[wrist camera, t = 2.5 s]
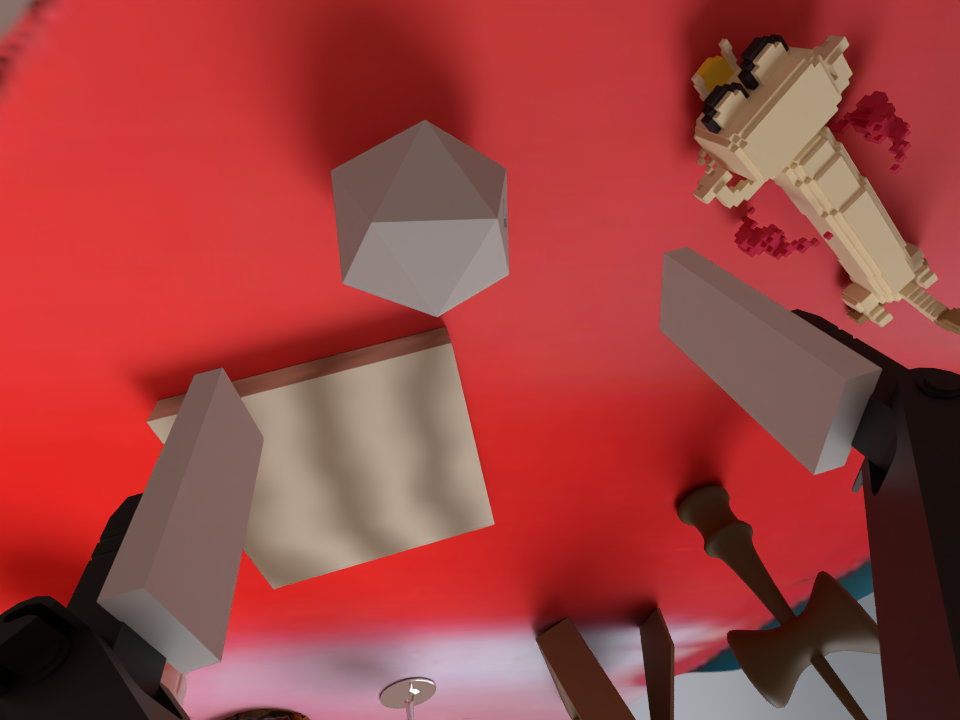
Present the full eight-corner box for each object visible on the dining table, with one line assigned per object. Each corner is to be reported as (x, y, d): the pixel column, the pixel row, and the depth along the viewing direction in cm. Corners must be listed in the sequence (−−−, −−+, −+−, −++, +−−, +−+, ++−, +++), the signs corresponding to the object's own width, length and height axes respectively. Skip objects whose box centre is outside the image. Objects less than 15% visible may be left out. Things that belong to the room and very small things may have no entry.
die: (436, 297, 31) (561, 306, 24) (305, 314, 25) (420, 332, 18) (428, 157, 29) (561, 124, 22) (283, 141, 23) (403, 90, 16)
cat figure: (918, 226, 37) (772, -42, 23) (1056, 279, 30) (964, -55, 17) (810, 327, 40) (627, 143, 27) (912, 394, 34) (737, 195, 20)
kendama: (752, 483, 48) (954, 711, 32) (671, 537, 51) (823, 776, 35) (728, 456, 45) (940, 695, 29) (644, 516, 48) (796, 768, 31)
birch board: (446, 326, 31) (451, 342, 30) (488, 505, 42) (494, 524, 40) (157, 400, 30) (146, 421, 28) (276, 566, 40) (273, 589, 39)
